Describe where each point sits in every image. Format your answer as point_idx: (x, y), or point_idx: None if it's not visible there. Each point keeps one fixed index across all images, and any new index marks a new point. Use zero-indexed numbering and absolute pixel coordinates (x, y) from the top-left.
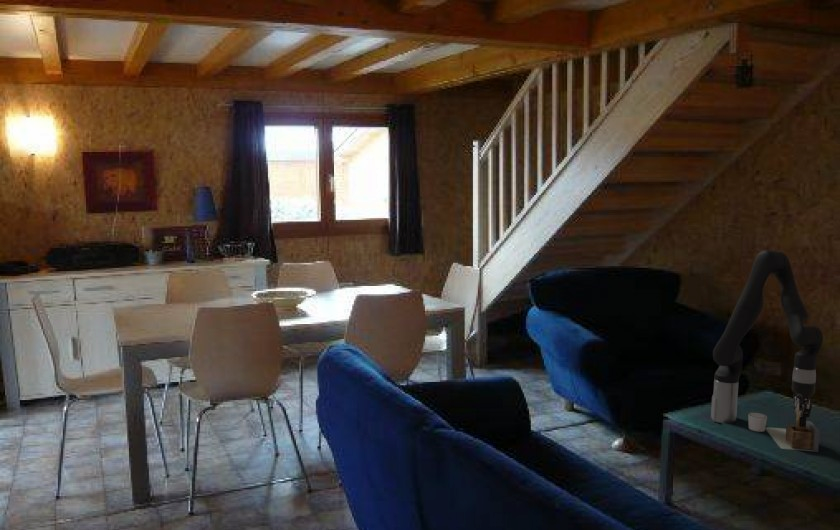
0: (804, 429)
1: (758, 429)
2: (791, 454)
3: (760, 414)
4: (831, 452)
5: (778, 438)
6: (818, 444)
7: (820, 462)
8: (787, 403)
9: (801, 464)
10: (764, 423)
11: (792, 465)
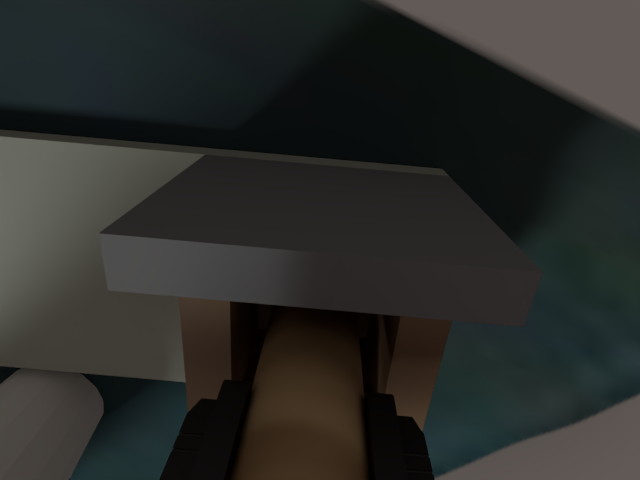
0: (355, 354)
1: (86, 432)
2: None
3: None
4: (375, 9)
5: None
6: (468, 197)
7: (598, 213)
8: None
9: (613, 346)
10: (38, 443)
11: (620, 396)
